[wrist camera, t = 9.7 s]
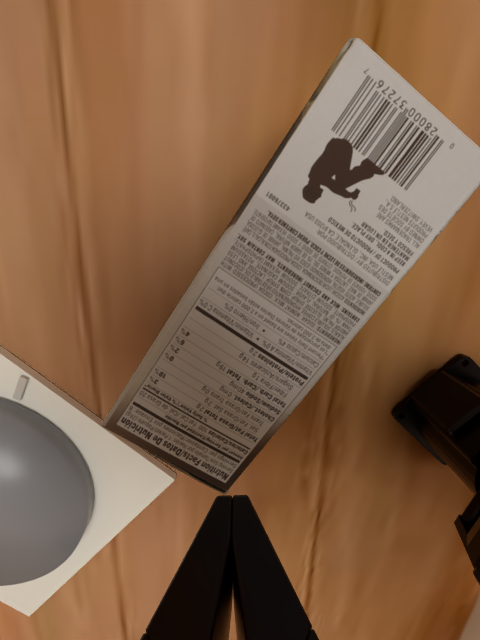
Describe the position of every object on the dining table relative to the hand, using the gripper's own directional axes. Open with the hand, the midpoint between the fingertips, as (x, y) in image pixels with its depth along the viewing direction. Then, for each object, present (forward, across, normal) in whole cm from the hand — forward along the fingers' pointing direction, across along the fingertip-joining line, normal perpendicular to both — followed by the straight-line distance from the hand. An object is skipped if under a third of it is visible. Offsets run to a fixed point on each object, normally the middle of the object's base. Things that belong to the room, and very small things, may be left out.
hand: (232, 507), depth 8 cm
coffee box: (+8, -6, -11) cm, 15 cm away
